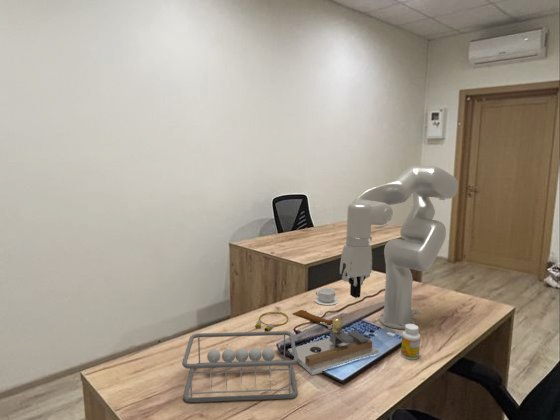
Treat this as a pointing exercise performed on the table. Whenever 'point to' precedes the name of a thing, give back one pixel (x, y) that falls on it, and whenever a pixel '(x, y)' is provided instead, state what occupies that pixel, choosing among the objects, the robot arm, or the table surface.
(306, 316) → the primitive tool
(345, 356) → the bolt plate
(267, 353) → the newton's cradle
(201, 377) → the table surface
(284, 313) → the extension cord
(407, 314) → the robot arm
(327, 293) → the teacup
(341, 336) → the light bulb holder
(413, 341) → the supplement bottle
